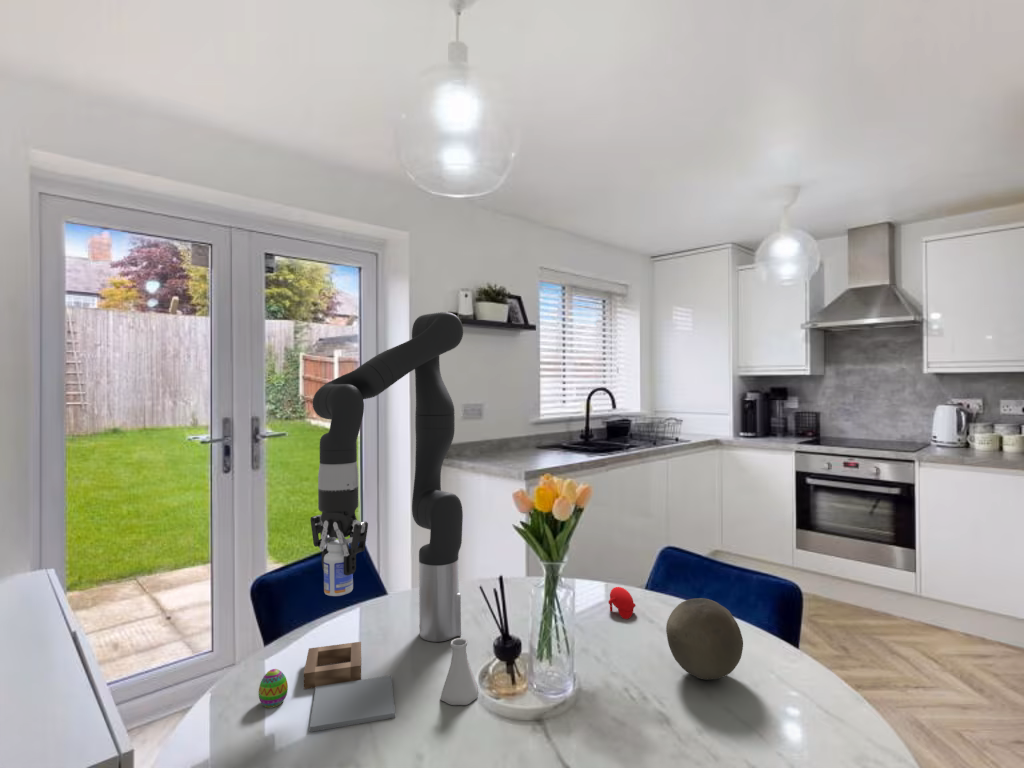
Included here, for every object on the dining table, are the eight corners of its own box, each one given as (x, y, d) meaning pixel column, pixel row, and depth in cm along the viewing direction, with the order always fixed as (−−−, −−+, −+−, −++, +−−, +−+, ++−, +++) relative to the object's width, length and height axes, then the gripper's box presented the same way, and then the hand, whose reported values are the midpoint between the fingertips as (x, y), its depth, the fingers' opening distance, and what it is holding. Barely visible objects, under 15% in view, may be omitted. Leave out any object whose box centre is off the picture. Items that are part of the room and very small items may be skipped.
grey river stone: (669, 656, 115) (668, 585, 115) (741, 666, 110) (740, 592, 110) (664, 691, 101) (663, 610, 102) (746, 704, 97) (745, 620, 97)
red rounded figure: (601, 595, 141) (605, 590, 136) (621, 585, 142) (625, 580, 137) (616, 625, 137) (621, 621, 132) (637, 615, 139) (642, 611, 133)
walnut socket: (361, 655, 117) (361, 641, 117) (361, 680, 106) (361, 665, 106) (308, 662, 114) (308, 648, 114) (303, 689, 103) (303, 673, 104)
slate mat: (391, 679, 107) (391, 675, 107) (395, 717, 94) (395, 712, 94) (315, 690, 103) (315, 686, 103) (309, 731, 90) (309, 727, 90)
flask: (485, 688, 103) (484, 636, 103) (469, 710, 96) (469, 653, 96) (450, 682, 105) (450, 631, 106) (433, 703, 99) (432, 647, 99)
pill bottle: (357, 587, 109) (357, 538, 109) (345, 597, 103) (345, 546, 103) (331, 586, 109) (331, 538, 109) (318, 596, 104) (318, 545, 104)
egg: (255, 712, 96) (255, 678, 96) (262, 696, 101) (262, 664, 101) (284, 708, 97) (284, 675, 97) (290, 693, 102) (290, 661, 102)
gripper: (298, 485, 107) (298, 571, 107) (349, 491, 100) (350, 583, 99) (328, 480, 114) (328, 561, 113) (378, 485, 106) (379, 572, 106)
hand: (338, 571), depth 106 cm, fingers closed on pill bottle, 5 cm apart
